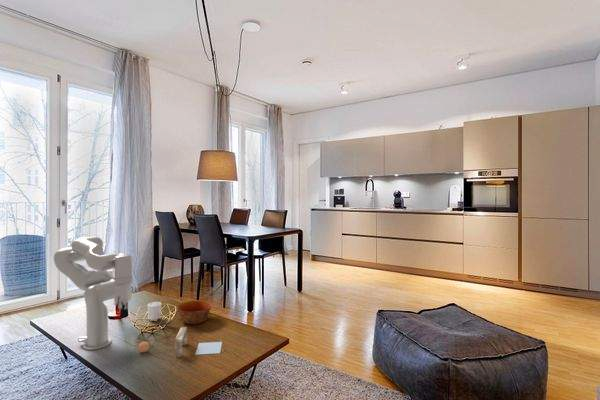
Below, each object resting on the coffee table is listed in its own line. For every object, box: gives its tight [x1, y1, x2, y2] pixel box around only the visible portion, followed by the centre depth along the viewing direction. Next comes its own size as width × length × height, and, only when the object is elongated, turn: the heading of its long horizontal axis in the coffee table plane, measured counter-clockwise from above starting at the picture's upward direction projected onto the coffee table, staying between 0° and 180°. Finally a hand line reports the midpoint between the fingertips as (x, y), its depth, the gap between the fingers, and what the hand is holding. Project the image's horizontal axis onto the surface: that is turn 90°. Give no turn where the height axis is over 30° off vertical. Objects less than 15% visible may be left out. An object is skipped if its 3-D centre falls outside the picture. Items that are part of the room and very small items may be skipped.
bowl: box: [176, 300, 213, 325], centre depth 202 cm, size 21×21×10 cm
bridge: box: [174, 326, 188, 358], centre depth 166 cm, size 3×14×9 cm, turn 9°
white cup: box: [147, 301, 162, 320], centre depth 203 cm, size 8×8×10 cm
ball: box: [137, 341, 150, 354], centre depth 164 cm, size 5×5×5 cm
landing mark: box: [194, 341, 223, 356], centre depth 169 cm, size 12×12×1 cm
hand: (124, 316), depth 161 cm, fingers closed
